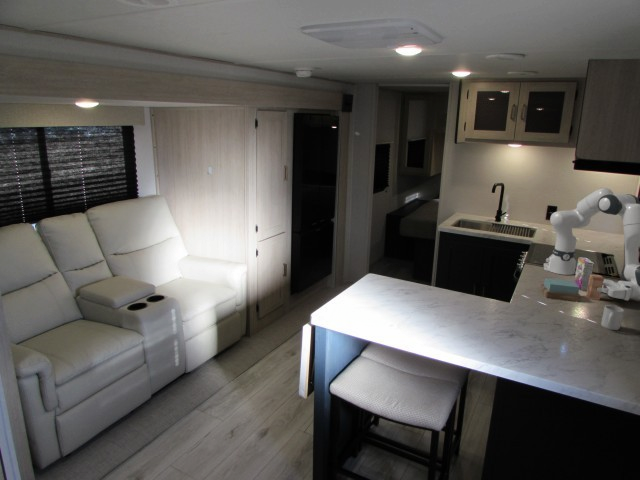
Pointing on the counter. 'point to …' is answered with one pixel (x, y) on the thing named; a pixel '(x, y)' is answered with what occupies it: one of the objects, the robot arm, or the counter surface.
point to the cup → (612, 317)
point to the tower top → (561, 286)
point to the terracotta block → (594, 287)
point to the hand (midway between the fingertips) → (593, 286)
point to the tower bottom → (560, 295)
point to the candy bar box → (583, 273)
